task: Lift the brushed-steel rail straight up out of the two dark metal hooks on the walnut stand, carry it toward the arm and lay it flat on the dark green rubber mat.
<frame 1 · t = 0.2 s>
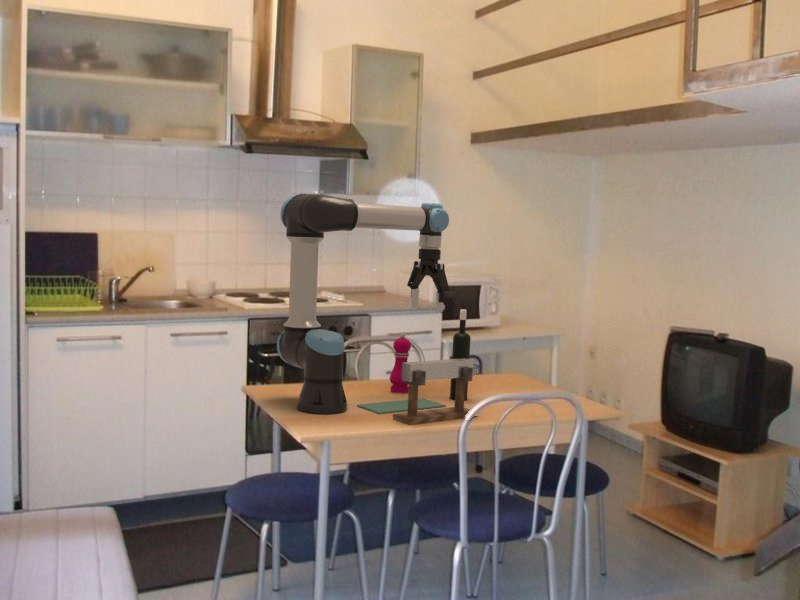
hand: (426, 309, 303), 28 cm above the table, fingers open, 13 cm apart
mat: (401, 406, 276), on the table
pepper mill: (399, 392, 300), on the table
wine bottle: (458, 399, 292), on the table
hook stand: (435, 417, 262), on the table
rail: (437, 378, 261), point 12 cm above the table, touching hook stand
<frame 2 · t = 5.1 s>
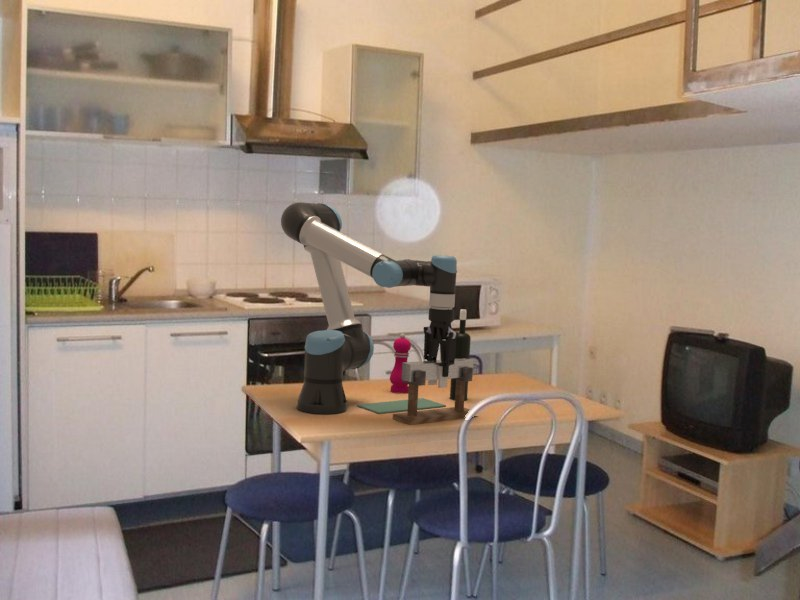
hand: (437, 385, 261), 10 cm above the table, fingers closed on rail, 4 cm apart
rail: (437, 378, 261), point 12 cm above the table, touching gripper, hook stand
everything else where it was.
when the fingers open (1 cm above the table, at t = 11.9 s): rail drops 3 cm, resting on mat.
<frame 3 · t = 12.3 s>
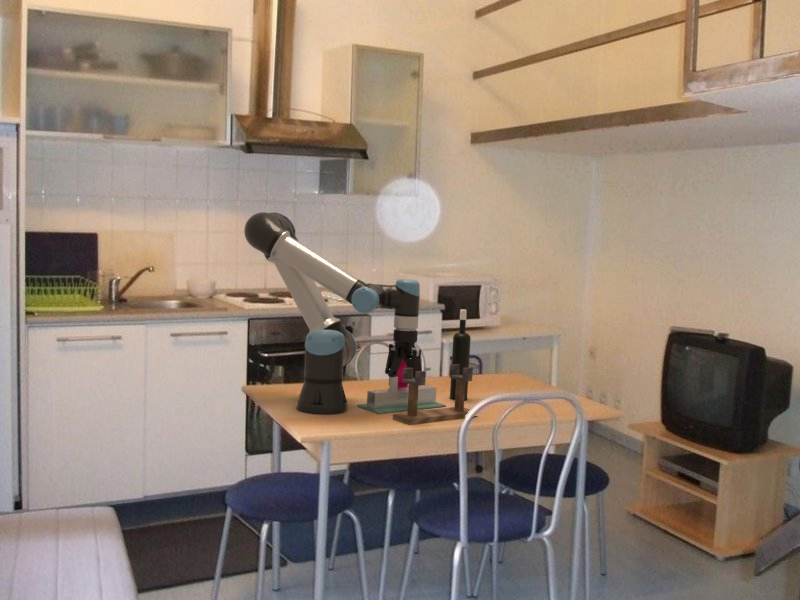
hand: (402, 400, 275), 2 cm above the table, fingers open, 9 cm apart
rail: (401, 404, 276), resting on mat
everything else where it was.
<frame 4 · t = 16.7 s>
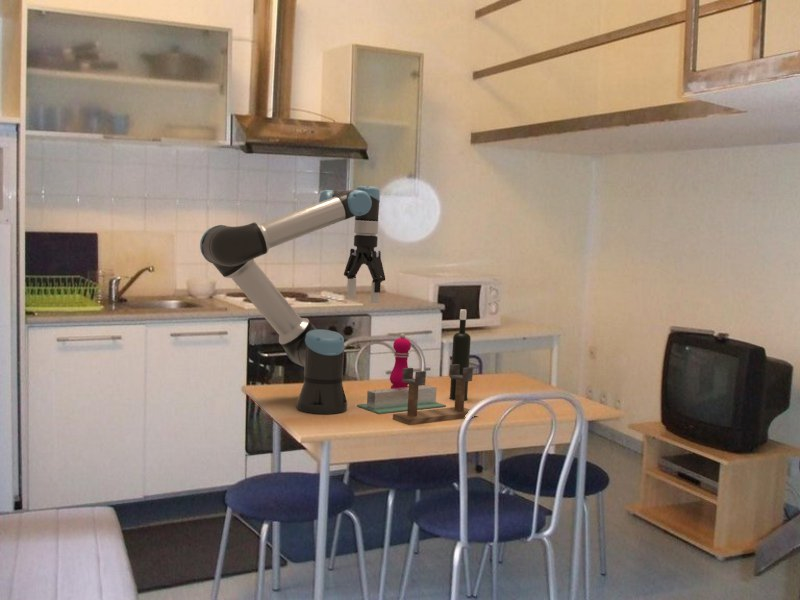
hand: (362, 300, 283), 32 cm above the table, fingers open, 13 cm apart
nothing on the table moved.
at the end: rail inside the target area on the mat (0.0 cm from its centre), point 0.5 cm above the mat's base; rail tilted 0°; the gripper is holding nothing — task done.
